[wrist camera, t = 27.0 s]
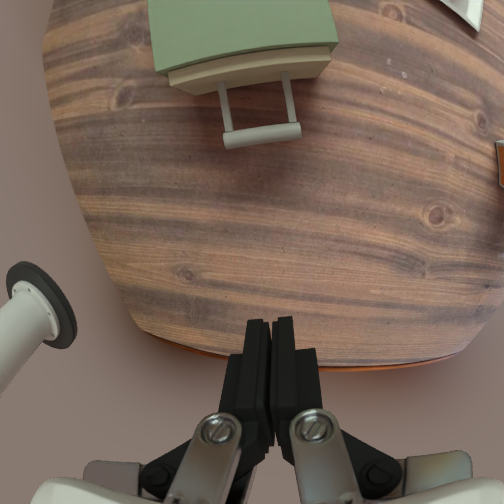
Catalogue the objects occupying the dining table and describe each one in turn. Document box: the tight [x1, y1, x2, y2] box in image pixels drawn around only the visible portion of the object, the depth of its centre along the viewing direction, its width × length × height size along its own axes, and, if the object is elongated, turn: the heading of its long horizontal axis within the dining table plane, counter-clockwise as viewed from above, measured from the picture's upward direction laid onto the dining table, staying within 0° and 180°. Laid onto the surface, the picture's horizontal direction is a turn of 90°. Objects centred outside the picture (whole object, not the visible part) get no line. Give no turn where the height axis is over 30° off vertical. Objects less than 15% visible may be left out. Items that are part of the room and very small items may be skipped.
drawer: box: [168, 46, 331, 149], centre depth 17 cm, size 19×11×7 cm, turn 9°
